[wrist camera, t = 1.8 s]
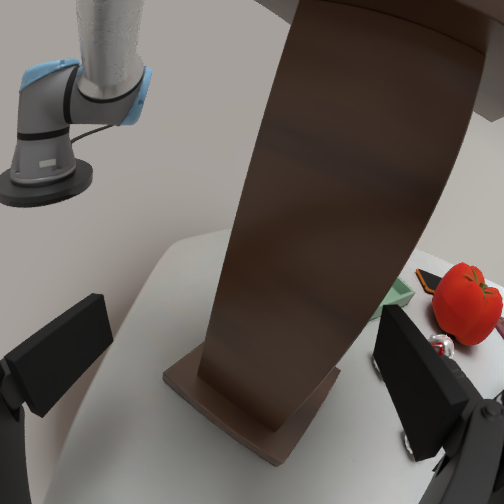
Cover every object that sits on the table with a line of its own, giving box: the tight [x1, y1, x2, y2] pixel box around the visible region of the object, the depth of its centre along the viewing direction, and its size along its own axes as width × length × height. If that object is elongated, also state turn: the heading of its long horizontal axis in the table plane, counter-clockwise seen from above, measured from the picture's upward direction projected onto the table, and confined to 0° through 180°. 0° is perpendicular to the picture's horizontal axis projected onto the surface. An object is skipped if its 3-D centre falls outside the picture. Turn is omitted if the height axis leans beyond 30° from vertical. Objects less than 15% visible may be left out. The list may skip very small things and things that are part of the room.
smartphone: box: [416, 269, 442, 294], centre depth 49 cm, size 8×17×1 cm, turn 80°
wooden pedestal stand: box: [163, 0, 504, 467], centre depth 16 cm, size 14×14×29 cm
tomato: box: [432, 262, 503, 346], centre depth 36 cm, size 14×13×10 cm
